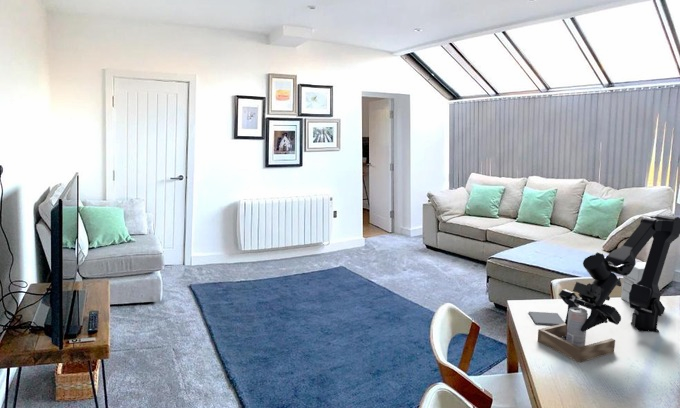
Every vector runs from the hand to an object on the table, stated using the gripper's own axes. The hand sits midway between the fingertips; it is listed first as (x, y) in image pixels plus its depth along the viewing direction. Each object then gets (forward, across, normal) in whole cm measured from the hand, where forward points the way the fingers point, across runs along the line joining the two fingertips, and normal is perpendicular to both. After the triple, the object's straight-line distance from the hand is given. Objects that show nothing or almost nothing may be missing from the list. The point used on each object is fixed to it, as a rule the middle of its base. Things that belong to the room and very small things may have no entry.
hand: (573, 327), depth 150 cm
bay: (+4, 0, +6) cm, 7 cm away
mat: (-3, -19, +12) cm, 23 cm away
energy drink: (+4, 0, +6) cm, 7 cm away
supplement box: (-35, -17, +45) cm, 59 cm away
